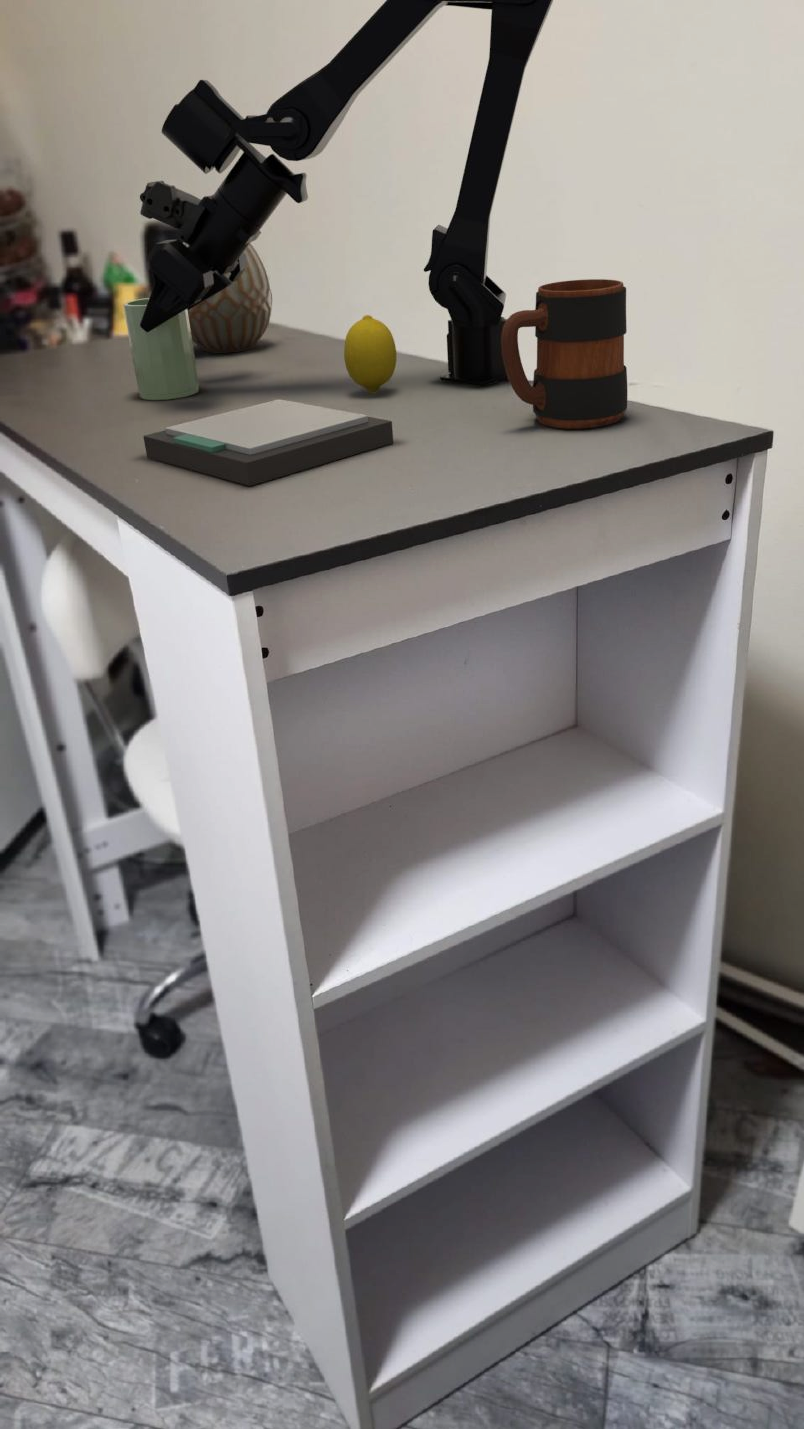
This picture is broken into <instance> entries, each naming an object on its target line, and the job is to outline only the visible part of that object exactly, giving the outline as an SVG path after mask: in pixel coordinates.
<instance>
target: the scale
mask: <svg viewBox="0 0 804 1429" xmlns="http://www.w3.org/2000/svg"><path fill="white" fill-rule="evenodd" d="M164 429H165V430H161V431H157V432H153V433H149V434H145V435H143V437H142V438H143V443H144V448H145V454H146V457H147V458H148V459H152V460H155V461H157V462H158V461H159V462H162V463H166V464H169V465H173V466H176V467H179V468H184V469H187V470H191V471H194V472H198V473H200V474H201V473H202V474H205V475H208V476H211V477H216V478H219V479H223V480H226V481H229V482H233V483H236V484H240V485H244V486H247V487H252V486H255V485H259V484H263V483H266V482H269V481H272V480H275V479H278V478H283V477H285V476H289V475H292V474H295V473H299V472H302V471H305V470H309V469H312V468H315V467H318V466H323V465H325V464H328V463H331V462H332V463H333V462H335V461H338V460H342V459H345V458H348V457H351V456H355V455H358V454H362V453H365V452H368V451H369V452H370V451H372V450H376V449H379V448H382V447H384V446H388V445H392V444H394V430H393V421H392V420H388V419H384V418H378V417H372V416H369V415H368V414H367V415H366V414H361V413H356V412H352V411H351V412H350V411H345V410H340V409H334V408H329V407H323V406H318V405H312V404H307V403H302V402H297V401H291V400H285V399H280V398H279V399H274V400H271V401H266V402H262V403H259V404H255V405H251V406H250V405H249V406H247V407H243V408H238V409H234V410H230V411H227V412H222V413H219V414H214V415H210V416H206V417H202V418H199V419H194V420H190V421H186V422H183V423H178V424H174V425H170V426H166V427H165V428H164Z"/></svg>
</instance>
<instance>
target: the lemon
mask: <svg viewBox="0 0 804 1429" xmlns="http://www.w3.org/2000/svg"><path fill="white" fill-rule="evenodd" d="M396 347H397V346H396V342H395V339H394V336H393V334H392V332H391V330H390V329H389V327H388V326H387V325H386V324H384V323H383V322H382V321H380V320H379V319H377V318H374V317H373V316H371V315H370V314H365V315H363V316H362V318H361V319H360V320H357V321H356V322H355V323H354V324H352V326H350V328H349V330H348V331H347V333H346V336H345V340H344V346H343V348H344V349H343V358H344V363H345V368H346V371H347V373H348V376H349V377H350V379H352V380H353V381H354V382H355V383H356V384H357V385H359V386H360V387H363V388H365V389H366V391H368V392H369V393H370V394H375V393H377V392H378V390H380V387H382V386H383V385H385V384H387V382H389V381H390V379H391V378H392V376H393V374H394V372H395V370H396V365H397V348H396Z"/></svg>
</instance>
